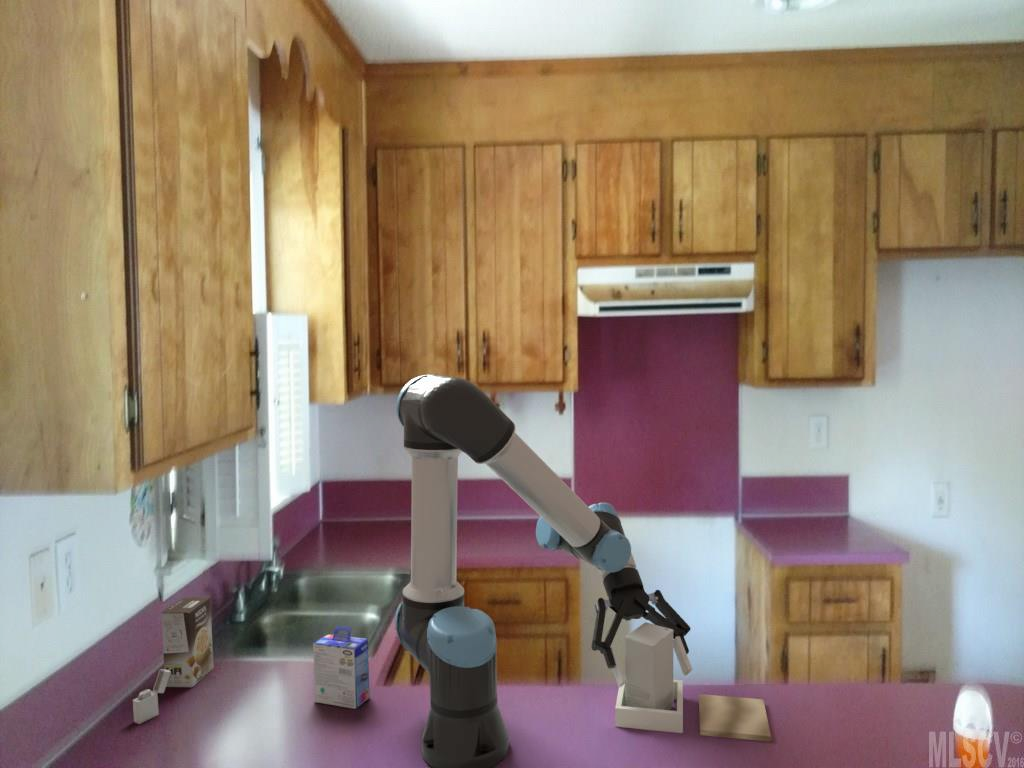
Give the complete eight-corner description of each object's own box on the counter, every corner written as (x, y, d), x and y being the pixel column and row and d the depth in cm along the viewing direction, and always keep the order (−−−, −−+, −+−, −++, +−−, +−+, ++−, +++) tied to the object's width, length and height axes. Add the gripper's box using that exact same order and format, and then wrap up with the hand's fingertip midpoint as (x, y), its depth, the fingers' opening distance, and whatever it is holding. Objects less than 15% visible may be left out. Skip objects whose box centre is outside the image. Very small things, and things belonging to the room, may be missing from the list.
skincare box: (645, 697, 146) (645, 620, 145) (676, 708, 142) (676, 628, 141) (623, 715, 139) (622, 635, 138) (655, 726, 135) (654, 644, 134)
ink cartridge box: (371, 696, 149) (369, 626, 148) (357, 710, 144) (354, 638, 143) (329, 690, 152) (326, 621, 151) (313, 703, 147) (310, 632, 146)
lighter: (138, 724, 140) (136, 683, 140) (133, 721, 141) (130, 681, 141) (173, 707, 146) (170, 668, 146) (167, 705, 147) (165, 666, 147)
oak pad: (700, 734, 132) (700, 729, 132) (698, 698, 145) (698, 693, 145) (771, 741, 130) (771, 736, 129) (763, 704, 142) (763, 699, 142)
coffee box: (193, 688, 154) (189, 613, 153) (164, 687, 155) (159, 612, 154) (214, 667, 163) (210, 596, 162) (186, 667, 164) (182, 596, 163)
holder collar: (615, 726, 136) (615, 708, 135) (621, 692, 148) (621, 675, 148) (682, 733, 133) (682, 714, 133) (682, 697, 146) (682, 680, 145)
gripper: (667, 575, 158) (706, 674, 145) (558, 590, 150) (588, 696, 137) (680, 558, 152) (722, 660, 139) (567, 573, 145) (599, 682, 132)
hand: (655, 678), depth 138 cm, fingers open, 13 cm apart
